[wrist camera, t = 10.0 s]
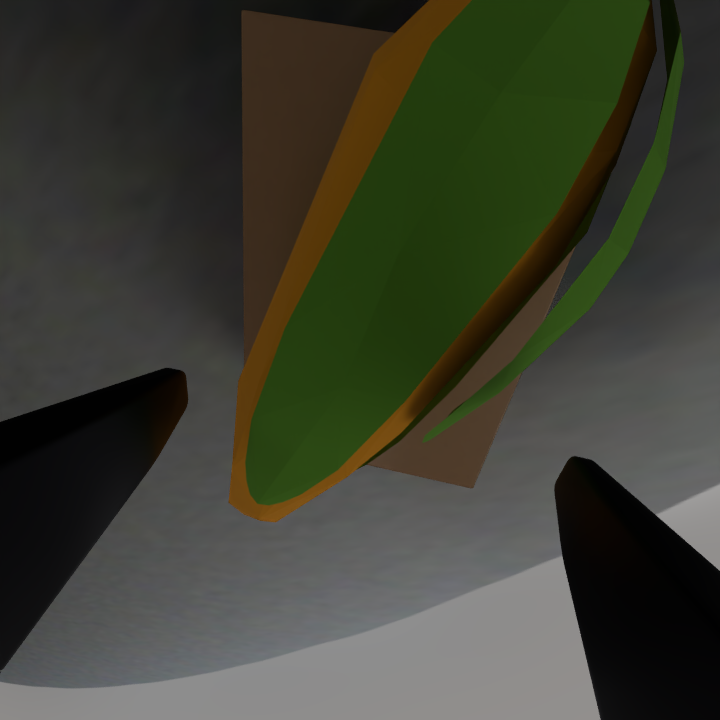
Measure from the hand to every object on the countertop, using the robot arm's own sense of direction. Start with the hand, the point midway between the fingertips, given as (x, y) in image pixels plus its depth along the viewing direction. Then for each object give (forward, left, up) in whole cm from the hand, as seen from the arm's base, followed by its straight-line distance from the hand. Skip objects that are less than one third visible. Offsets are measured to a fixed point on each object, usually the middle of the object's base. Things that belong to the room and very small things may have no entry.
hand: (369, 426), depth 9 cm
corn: (0, 0, -7) cm, 7 cm away
